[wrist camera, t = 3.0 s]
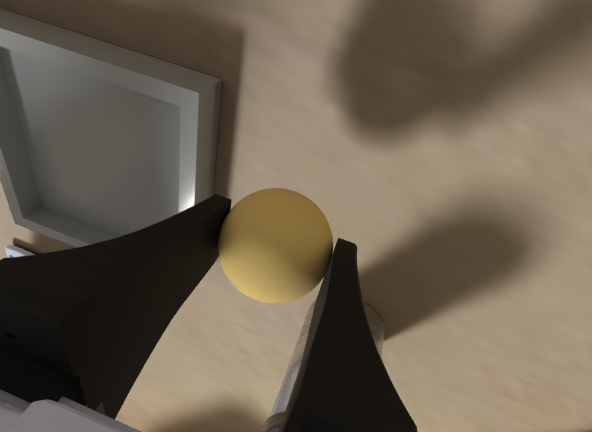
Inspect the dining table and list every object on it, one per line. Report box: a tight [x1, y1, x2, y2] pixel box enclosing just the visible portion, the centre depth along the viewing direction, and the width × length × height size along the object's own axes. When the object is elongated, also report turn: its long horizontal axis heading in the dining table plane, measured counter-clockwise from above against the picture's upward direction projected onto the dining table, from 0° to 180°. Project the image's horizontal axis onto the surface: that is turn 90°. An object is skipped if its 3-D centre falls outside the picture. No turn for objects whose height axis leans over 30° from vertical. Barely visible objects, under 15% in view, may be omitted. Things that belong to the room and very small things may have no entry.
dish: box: [0, 8, 222, 248], centre depth 20 cm, size 12×12×2 cm
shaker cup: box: [262, 301, 385, 432], centre depth 19 cm, size 5×5×8 cm
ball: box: [218, 188, 333, 303], centre depth 13 cm, size 4×4×4 cm
